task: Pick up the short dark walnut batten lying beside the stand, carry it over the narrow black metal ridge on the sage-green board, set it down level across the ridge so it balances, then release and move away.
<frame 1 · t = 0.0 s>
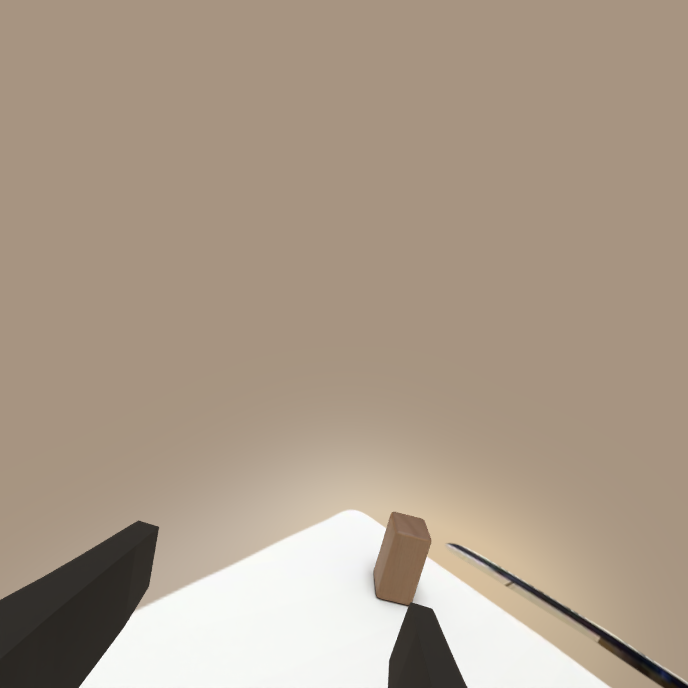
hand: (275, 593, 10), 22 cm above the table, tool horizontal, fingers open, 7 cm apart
wooden block: (390, 590, 41), on the table
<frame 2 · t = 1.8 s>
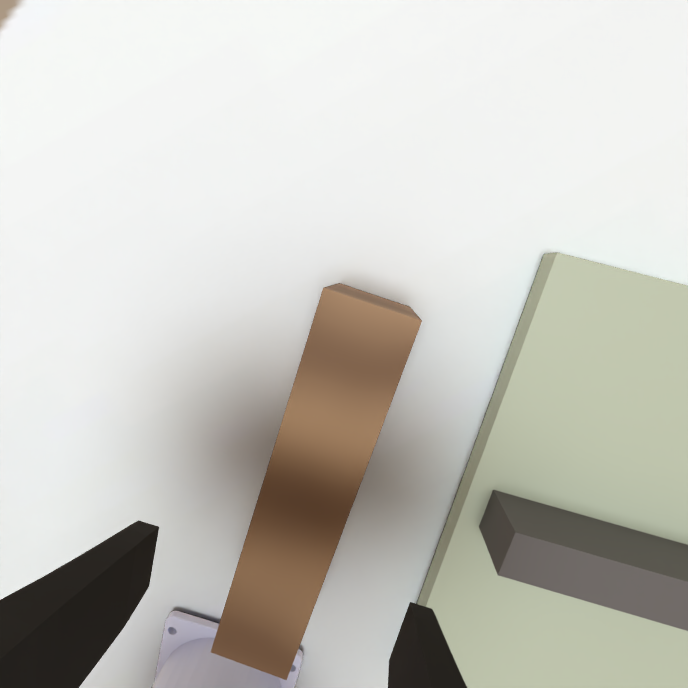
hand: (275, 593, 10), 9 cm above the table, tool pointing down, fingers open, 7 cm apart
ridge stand: (600, 527, 18), on the table
walnut batten: (322, 445, 19), on the table
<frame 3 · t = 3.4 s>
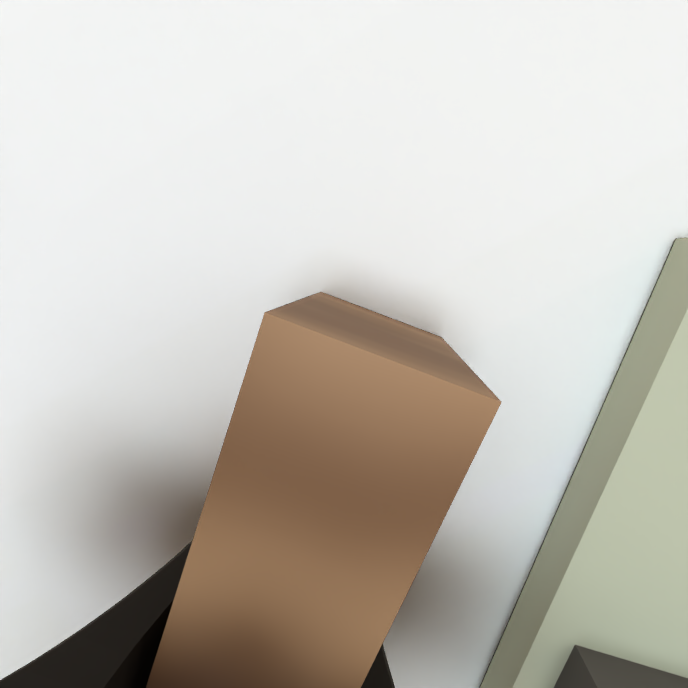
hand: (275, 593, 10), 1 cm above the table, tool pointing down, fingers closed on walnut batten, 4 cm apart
walnut batten: (288, 551, 12), on the table, touching gripper
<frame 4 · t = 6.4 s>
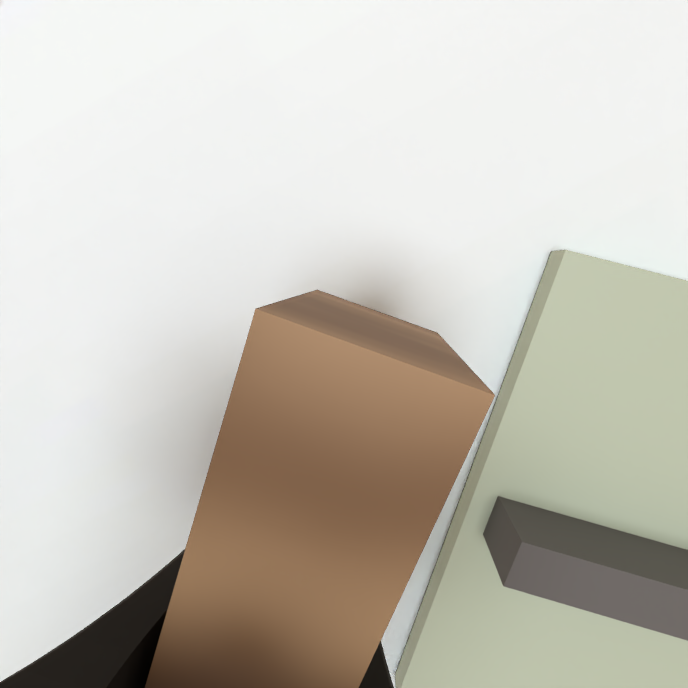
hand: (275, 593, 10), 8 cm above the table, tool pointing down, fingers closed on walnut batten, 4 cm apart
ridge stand: (608, 534, 17), on the table
walnut batten: (288, 551, 12), point 6 cm above the table, touching gripper
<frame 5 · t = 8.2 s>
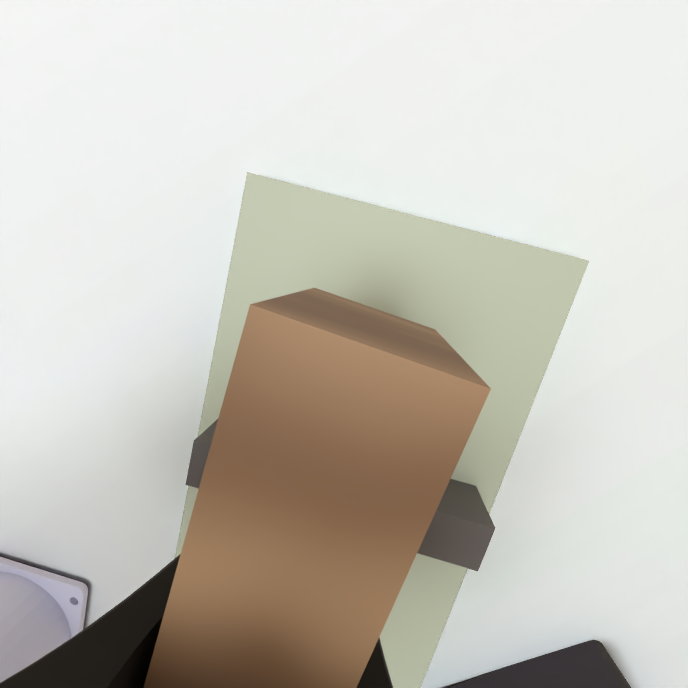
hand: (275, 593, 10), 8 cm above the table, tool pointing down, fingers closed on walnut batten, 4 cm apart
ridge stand: (344, 455, 18), on the table
walnut batten: (288, 550, 12), point 7 cm above the table, touching gripper
when the fingers open (6 cm above the table, at t = 9.6 s): walnut batten stays where it is, resting on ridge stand.
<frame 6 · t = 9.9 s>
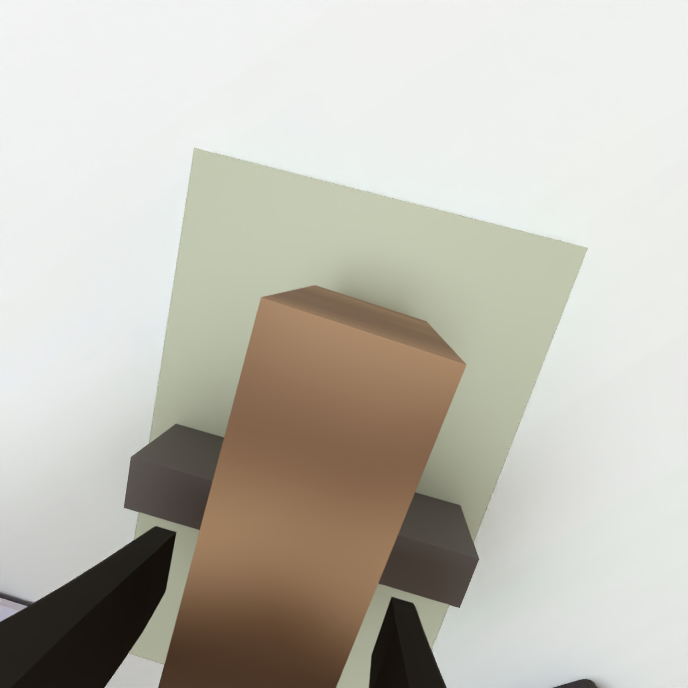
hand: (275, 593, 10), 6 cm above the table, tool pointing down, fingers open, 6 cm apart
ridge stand: (315, 469, 16), on the table
walnut batten: (295, 530, 12), point 4 cm above the table, touching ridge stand
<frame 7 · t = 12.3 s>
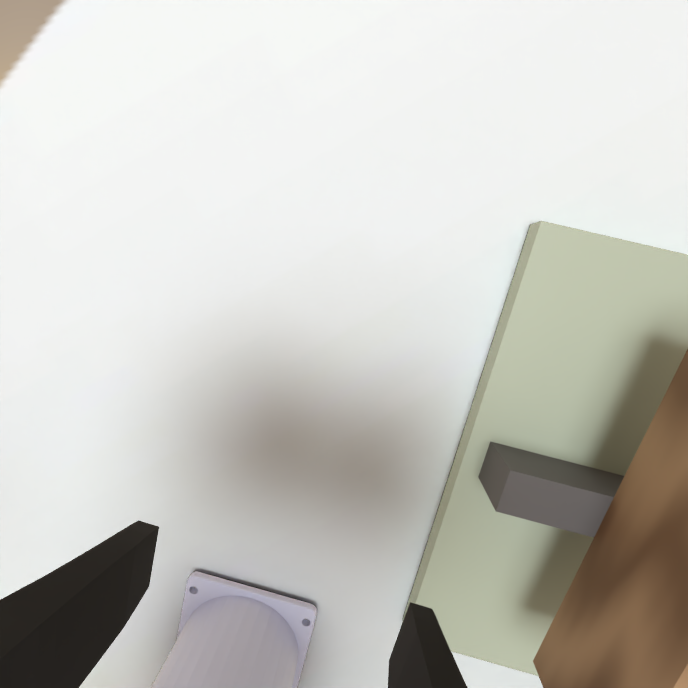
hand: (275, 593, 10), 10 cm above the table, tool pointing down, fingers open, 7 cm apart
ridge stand: (590, 477, 19), on the table
walnut batten: (645, 526, 15), point 4 cm above the table, touching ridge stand
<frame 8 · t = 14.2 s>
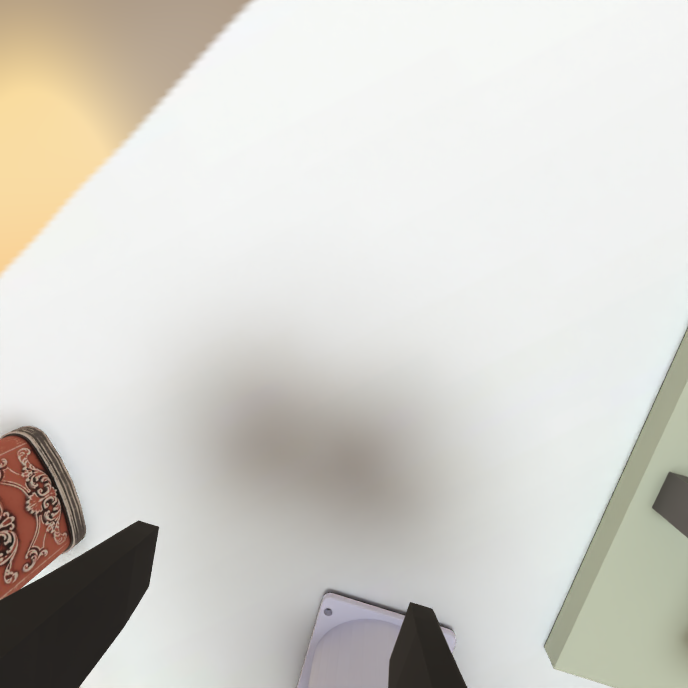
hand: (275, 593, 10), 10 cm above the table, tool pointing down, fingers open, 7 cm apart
lighter: (51, 485, 23), on the table
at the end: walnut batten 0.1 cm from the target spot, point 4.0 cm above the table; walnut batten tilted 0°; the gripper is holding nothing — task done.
